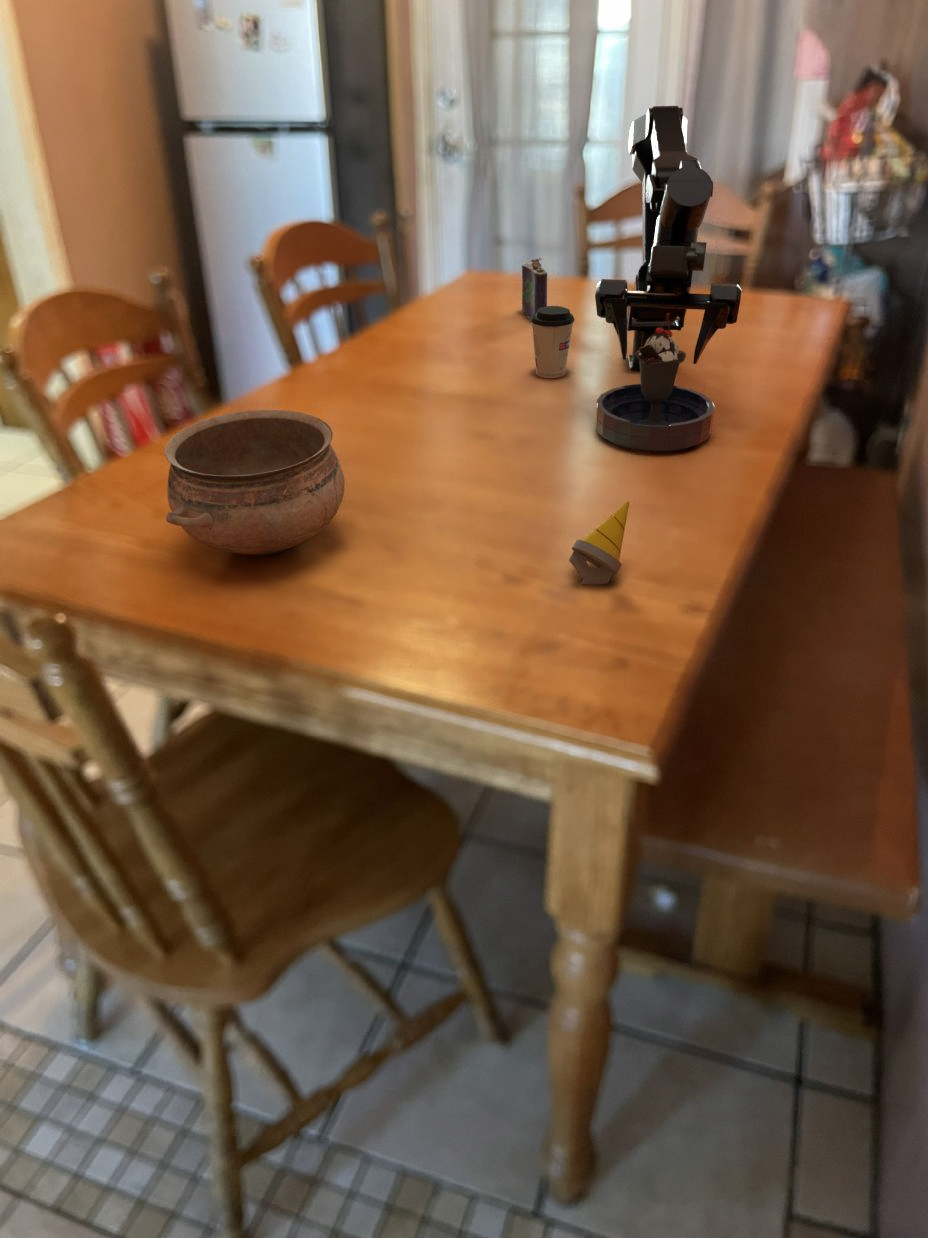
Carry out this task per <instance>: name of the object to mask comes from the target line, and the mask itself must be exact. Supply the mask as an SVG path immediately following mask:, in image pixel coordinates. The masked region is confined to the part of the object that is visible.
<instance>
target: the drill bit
mask: <svg viewBox="0 0 928 1238" xmlns="http://www.w3.org/2000/svg"><path fill="white" fill-rule="evenodd" d="M629 508H630V500H629V501H626V502H625V503H624V504H622V505H621V506H620V507H619V508H618V509H617V510H615V511H614V512H612V514H611V515H609V516H608V517H607V518H606V519H605V520H603V521H602V522H601V523H600V524H599V525H598V526H596V527H595V529H593V530H592V531H590V532H589V533H588V534H587V535H586V536H584V537H583V538H582V539H576V540H575V541H574V543H573V545H572V547H571V551H573V552H572V553H571V555H570V557H569V559H568V561H569V563H570V564H571V565H572V566H573V568H574V569H575V571H576V572H577V573H578V575H579V576H580V577H581V579H582V581H581V583H580V585H608V583H609V581H610V580H611V578H612V576H613V574H614V575H617V574H618V573H619V571H620V570H621V568H622V566H623V564H622V563H621V561H620V558H621V553H622V547H623V541H624V536H625V529H626V526H627V525H626V524H627V519H628V513H629ZM588 563H589V564H591V565H592V566H595V567H597V568H593V567H591V566H589V564H588Z"/></svg>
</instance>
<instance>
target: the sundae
mask: <svg viewBox="0 0 928 1238" xmlns="http://www.w3.org/2000/svg"><path fill="white" fill-rule="evenodd" d="M667 316H668V330H665V331H664V329H663V328H662V327H663V326H664V325H665V323H666V321H667ZM669 316H670V313H666V321H665V323H664V324H663V325H662V327H660V328H657V329H656V330H655V333H654V334H653V335H651V336H650V337H649V338H648V339H647V341H646V344H645V346H643V347H640V348H639V350H638V351H637V352H636V353H635V356H636V357H637V358H638V359H639V363H640V371H639V375H640V379H639V381H640V384H641V390H642V394H643V395H644V397H645V398H646V399H647V400H648V401H649V402H650V403H651V411H650V415H649V417H648V418H647V419H644V420H640V421H638V422H642V423H650V424H669V423H668V422H666V421H664V420H660V418H659V406H660V404H661V403H662V402H663V401H665V400H666V399H667V398H668V397H669V396H670V395H671V393H672V390H673V387H674V385H675V383H676V378H677V375H678V371H679V367H680V364H681V363H683V362H685V360H686V357H687V354H686V352H685V351H683V350H680V349H679V345H678V343H677V342H676V341H675V339H673V338H672V337H673V332H672V330H671V331H670V325H669Z"/></svg>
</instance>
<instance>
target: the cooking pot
mask: <svg viewBox="0 0 928 1238" xmlns="http://www.w3.org/2000/svg"><path fill="white" fill-rule="evenodd" d="M333 433H334V432H333V430H332V428H331V426H330V425H329V424H328V423H327V422H325V420H322V419H321V418H319V417H317V416H314V415H312V414H308V413H304V412H300V411H294V410H286V409H285V410H284V409H254V410H252V409H251V410H244V411H243V410H241V411H236V412H235V411H234V412H230V413H224V414H220V415H217V416H213V417H210V418H207V419H203V420H201V421H198V422H195V423H192V424H191V425H187V426H186V427H185V428H183V429H180V430H179V431H177V432H176V433H174V435H172V436H171V437H170V439H169V440H168V441H167V443H166V445H165V447H164V456H165V458H166V460H167V461H168V462H169V463H170V465H169V469H168V475H167V476H168V477H167V503H168V506H169V509H170V510H171V511H170V512H168V513H167V514H166V516H165V521H166V522H167V523H169V524H171V525H174V526H177V527H181V528H182V529H183V530H184V531H185V532H186V533H187V534H188V535H189V536H190V537H191V538H193V539H195V540H196V541H198V542H200V543H201V544H203V545H205V546H207V547H210V548H212V549H216V550H219V551H223V552H228V553H232V554H237V555H238V554H240V555H246V556H252V557H267V556H273V555H274V556H275V555H277V554H280V553H283V552H285V551H288V550H289V549H291V548H293V547H296V546H298V545H300V544H302V543H304V542H306V541H308V540H310V539H311V538H313V537H314V536H316V535H317V534H319V533H320V532H321V531H322V530H324V529H325V528H326V527H327V526H328V525H329V523H330V522H332V520H333V519H334V518H335V516H336V515H337V513H338V511H339V508H340V506H341V505H342V501H343V498H344V495H345V475H344V471H343V468H342V466H341V462H340V461H339V458H338V456H337V454H336V451H335V449H334V448H333V445H332V444H331V443H332V440H333Z"/></svg>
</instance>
